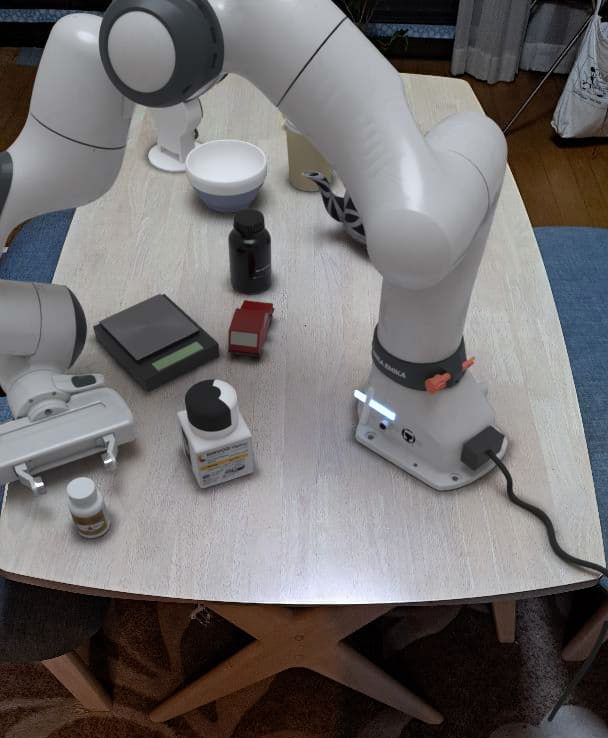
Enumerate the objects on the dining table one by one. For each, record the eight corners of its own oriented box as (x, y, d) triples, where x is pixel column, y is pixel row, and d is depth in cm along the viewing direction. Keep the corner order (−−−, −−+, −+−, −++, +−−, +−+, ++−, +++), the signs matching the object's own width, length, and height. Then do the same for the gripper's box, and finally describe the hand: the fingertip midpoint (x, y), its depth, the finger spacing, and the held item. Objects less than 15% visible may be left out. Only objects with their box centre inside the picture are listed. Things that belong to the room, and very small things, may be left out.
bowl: (255, 173, 153) (254, 133, 147) (278, 215, 145) (277, 175, 139) (181, 185, 151) (176, 145, 144) (200, 229, 143) (195, 189, 136)
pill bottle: (77, 542, 103) (63, 504, 97) (75, 515, 105) (61, 477, 99) (112, 535, 104) (100, 498, 97) (109, 509, 106) (97, 471, 100)
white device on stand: (221, 156, 157) (215, 75, 144) (179, 180, 152) (169, 98, 139) (179, 134, 161) (169, 54, 149) (136, 157, 156) (123, 75, 144)
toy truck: (276, 316, 129) (277, 290, 125) (262, 364, 123) (262, 338, 118) (241, 311, 130) (240, 285, 125) (225, 359, 123) (223, 333, 119)
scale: (219, 355, 124) (218, 339, 121) (147, 392, 119) (144, 376, 116) (166, 306, 130) (163, 289, 128) (95, 339, 125) (91, 322, 123)
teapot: (298, 206, 147) (298, 124, 135) (464, 201, 148) (479, 119, 136) (305, 271, 136) (306, 188, 124) (484, 265, 137) (502, 182, 125)
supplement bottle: (266, 298, 132) (264, 232, 122) (226, 292, 132) (221, 226, 123) (276, 272, 136) (274, 207, 126) (236, 267, 136) (232, 201, 127)
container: (201, 490, 108) (190, 422, 97) (182, 450, 112) (171, 381, 102) (254, 473, 110) (250, 404, 99) (234, 434, 114) (228, 365, 103)
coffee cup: (344, 184, 151) (348, 120, 142) (303, 199, 148) (304, 135, 139) (316, 161, 156) (318, 98, 146) (276, 176, 153) (274, 112, 143)
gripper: (-39, 417, 104) (-13, 491, 97) (112, 369, 110) (147, 436, 103) (-23, 450, 110) (2, 523, 102) (120, 402, 115) (154, 469, 108)
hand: (76, 479), depth 103 cm, fingers open, 8 cm apart
